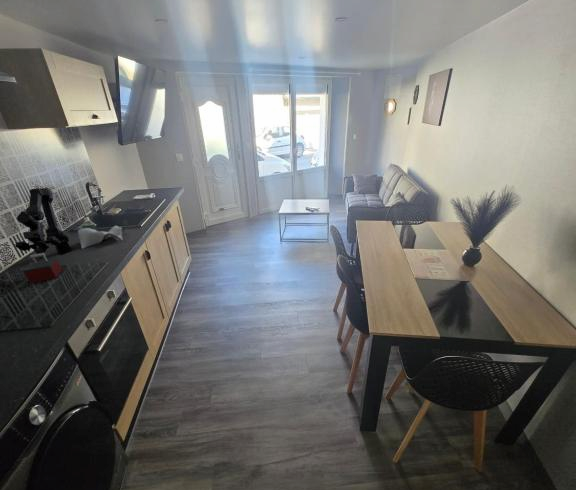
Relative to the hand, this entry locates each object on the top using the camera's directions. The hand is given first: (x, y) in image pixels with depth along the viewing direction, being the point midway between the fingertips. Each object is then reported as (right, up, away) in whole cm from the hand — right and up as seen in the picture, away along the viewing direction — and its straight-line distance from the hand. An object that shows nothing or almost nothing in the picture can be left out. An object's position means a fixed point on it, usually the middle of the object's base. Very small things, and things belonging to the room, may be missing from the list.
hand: (40, 258), depth 159 cm
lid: (+1, -4, -1) cm, 4 cm away
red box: (+2, -9, +2) cm, 10 cm away
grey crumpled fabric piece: (+9, +18, +41) cm, 46 cm away
